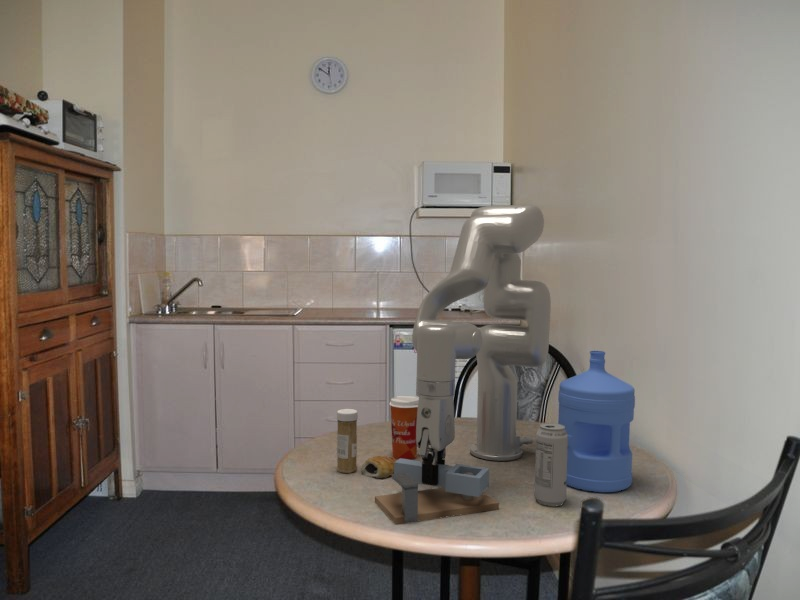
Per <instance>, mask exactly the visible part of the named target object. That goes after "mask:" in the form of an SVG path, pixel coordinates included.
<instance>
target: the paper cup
mask: <svg viewBox="0 0 800 600" xmlns="http://www.w3.org/2000/svg"><path fill="white" fill-rule="evenodd" d="M418 402H419V397H418V396H412V395H411V396H409V395H398V396H394V397H392V398H391V399H390V402H389V403H388V404H389V405H390V423H391V425H390V426H391V427H390V428H391V447H392V457H393V458H395V459H397V460H398V459H400V458H402V459H409V460H411V459H412V460H416V458H417V451H418V447H417V445H416V424H417V411H418Z"/></svg>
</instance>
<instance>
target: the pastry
mask: <svg viewBox="0 0 800 600" xmlns="http://www.w3.org/2000/svg"><path fill="white" fill-rule="evenodd" d="M397 460H398V459H395V458H394V457H393V456H385V455H384V456H382V455H376V456H373V457H369V458H367V460H365V461H364V463H363V464H362V466H361V468H360V471H361V474H363V475H364V476H366V477H370V476H372V478H375V477H376V478H377V479H385V478H389V476H391V477H392V474H394V462H395V461H397Z"/></svg>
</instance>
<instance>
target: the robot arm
mask: <svg viewBox="0 0 800 600" xmlns="http://www.w3.org/2000/svg"><path fill="white" fill-rule="evenodd" d="M544 227H545V217H544V214H543V211H542V210H541V208H539V207H538V206H537V205H533V204H515V205H514V204H512V205H509V204H508V205H503V204H502V205H486V206H481V207H478V208H476V209H474V210H473V211H472V212H471V214H470V217H469V218H468V219H466V221H464V223H463V225H462V228H461V230H460V233H459V234H460V235H459V238H458V241H457V246H456V249H455V252H454V255H453V258H452V259H453V260H452V264H451V267H450V271H449V273H448V274H447V275H446V276H445V277H444V278H443V279H442V280H440V281H439V282H438V283H437V284H436V285H434V286H433V288H432V289H430V291H429V292H428V293H427V294H426V295H425V296H424V297H423V299H422V301H421V303H420V305H419V307H418V310H417V312H416V313H417V314H416V318H415V320H414V325H413V330H412V338H411V339H412V346H413V348H414V351H416V380H415V382H416V383H415V385H416V387H415V388H416V389H415V397H417V398H419V402H418V411H417V424H416V445H417V449H419V453H418V456H419V457H420V458H421V461H422V483H423V484H422V485H424V484H428V485H427V486H430V485H434V486H433V487H436V485H437V484H438V468H439V465H437V464H441V465H446V456H447V455H446V450H447V449H446V448H447V447H448V446H449V445H451V444H452V443H453V442H454V440H455V435H456V434H455V425H456V424H455V401H454V398H455V393H456V392H455V391H456V363H457V362H456V360H470V359H472V358H474V357H476V363H477V403H476V405H477V406H476V407H477V410H476V413H477V414H476V443H473V444H472V445H471V446H470V448H469V452H470V454H471V455H472V456H474V457H476V458H479V459H482V460H486V461H487V460H488V461H496V462H497V461H498V462H501V461H502V462H504V461H514V460H518V459H520V458H521V457H522V456H523V450H522V448H521V447H523V445H533V444H534V438H533V436H532V435H529V436H527V435H526V436H523V435H522V434H521V435H519V434H517V419H518V418H517V413H518V412H517V411H518V409H517V408H518V381H517V378H516V376H515V373H514V372H513V370H512V369H511V367H510V366H515V367H527V368H528V367H529V368H538V367H542V366H544V364H545V363H546V362H547V359H548V356H549V355H548V354H549V344H550V330H551V329H550V327H551V326H550V325H551V311H552V310H551V308H552V307H551V303H552V302H551V301H552V300H551V293H550V289H549V288H548V286H547V285H546V284H545V283H544V282H542V281H538V280H525V279H524V280H523V279H522V278H521V268H522V260H521V257H520V255H519V254H520V253H523V252H525V251H526V250H527V249H529V248H530V247H531V246H532V245H534V244H535V243H536V242H537V241H538V240H539V239H540V237H542V236H541V235H542V234H543V232H544ZM482 291H483V309H484V312H485V314H486V315H487V316H488V317H490V318H493V319H500V320H515V321H526V324H527V326H525V325H514V324H513V325H512V324H499V323H498V324H497V323H494V324H486V325H483V326H481V327H480V328H479V327H477V325H475V324H473V323H469V322H465V321H464V322H463V321H451V320H439V319H438V318H439V317H440V314H442V312H443V311H444V310H445V309H446V308H447V307H449V306H451V305H452V304H453V303H456V302H457V301H460V300H462V299H464V298H467V297H469V296H473V295H475V294H476V293H479V292H482Z"/></svg>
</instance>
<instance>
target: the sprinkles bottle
mask: <svg viewBox="0 0 800 600" xmlns="http://www.w3.org/2000/svg"><path fill="white" fill-rule="evenodd" d="M358 416H359V415H358V410H356V409H352V408H343V409H339V410H337V412H336V421H337V433H336V436H337V437H336V439H337V441H336V457H337V463H336V465H337V466H336V471H337V472H339V473H343V474H351V473H354V472H356V471H357V470H358V466H357V455H358V451H357V449H358V448H357V446H358V445H357V444H358V442H357V441H358V440H357V439H358V438H357V437H358V434H357V433H358V432H357V431H358V429H357V424H358V422H357V421H358Z"/></svg>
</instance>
